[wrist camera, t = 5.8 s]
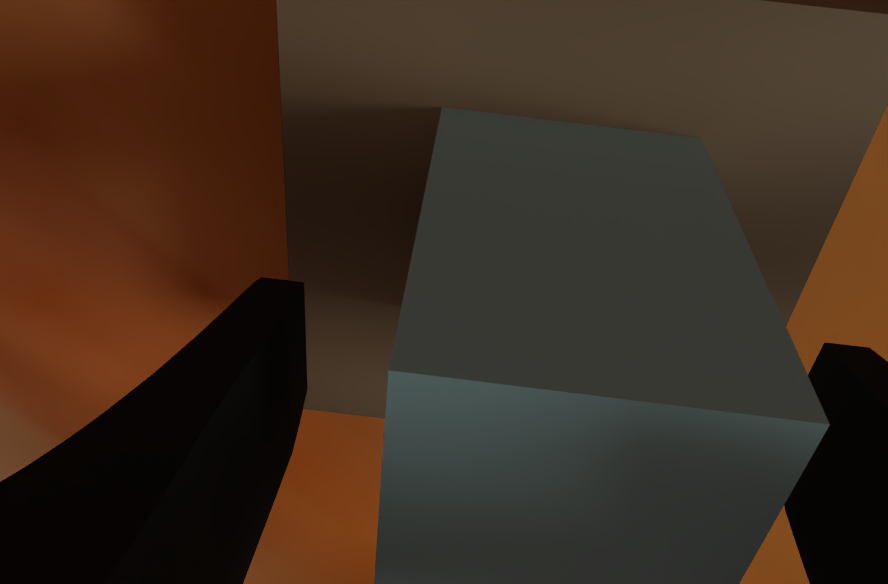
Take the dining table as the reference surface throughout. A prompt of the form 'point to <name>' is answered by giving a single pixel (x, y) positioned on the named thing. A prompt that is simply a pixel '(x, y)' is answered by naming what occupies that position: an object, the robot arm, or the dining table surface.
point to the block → (584, 367)
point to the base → (560, 99)
